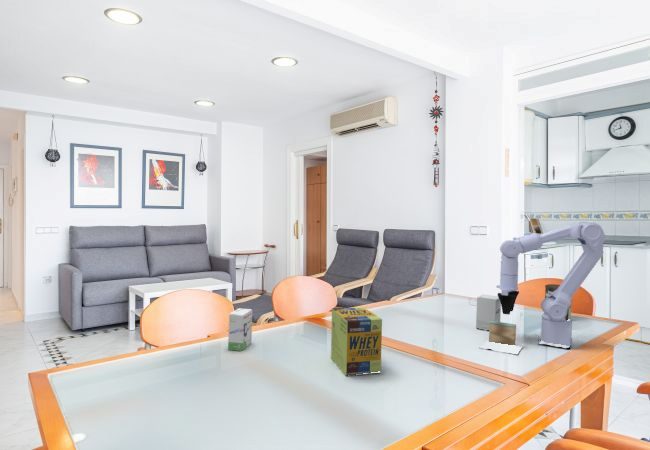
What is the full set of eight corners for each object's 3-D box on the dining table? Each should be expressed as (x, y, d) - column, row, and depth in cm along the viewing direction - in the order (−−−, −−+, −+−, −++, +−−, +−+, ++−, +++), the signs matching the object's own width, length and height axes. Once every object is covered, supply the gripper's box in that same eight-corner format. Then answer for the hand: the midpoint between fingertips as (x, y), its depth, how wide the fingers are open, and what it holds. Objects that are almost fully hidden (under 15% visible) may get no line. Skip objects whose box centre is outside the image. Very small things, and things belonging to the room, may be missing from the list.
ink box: (237, 342, 148) (238, 307, 147) (252, 343, 147) (252, 308, 146) (227, 350, 139) (227, 313, 139) (242, 351, 138) (242, 314, 138)
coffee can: (560, 323, 180) (561, 289, 179) (538, 317, 189) (539, 285, 189) (576, 320, 184) (578, 287, 184) (554, 315, 194) (556, 283, 193)
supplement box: (495, 332, 165) (496, 299, 164) (475, 329, 169) (476, 296, 168) (500, 328, 170) (501, 296, 170) (481, 325, 175) (482, 293, 174)
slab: (515, 344, 148) (516, 324, 148) (513, 347, 146) (514, 326, 146) (490, 340, 153) (491, 320, 153) (488, 342, 150) (489, 322, 150)
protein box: (346, 377, 119) (347, 320, 118) (330, 358, 134) (331, 307, 133) (381, 373, 122) (383, 318, 121) (362, 355, 136) (363, 306, 136)
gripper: (501, 270, 162) (500, 307, 163) (492, 275, 150) (491, 314, 151) (521, 272, 159) (520, 309, 159) (514, 277, 146) (513, 317, 147)
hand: (507, 312), depth 155 cm, fingers open, 5 cm apart
